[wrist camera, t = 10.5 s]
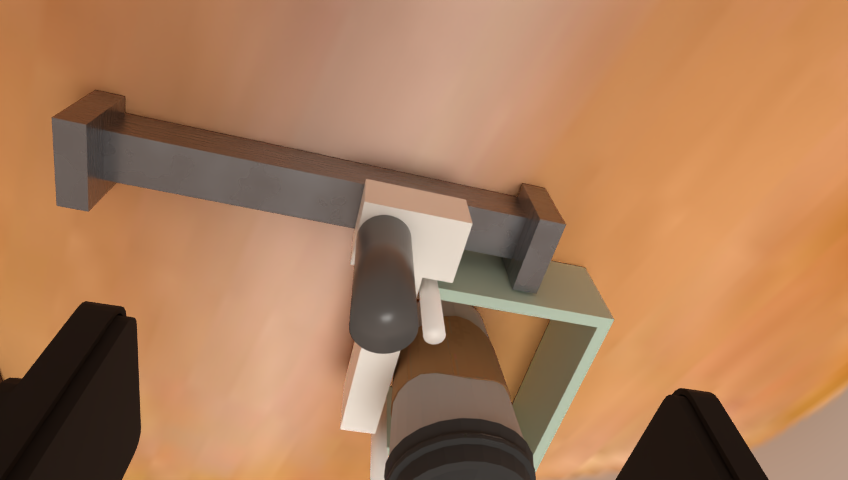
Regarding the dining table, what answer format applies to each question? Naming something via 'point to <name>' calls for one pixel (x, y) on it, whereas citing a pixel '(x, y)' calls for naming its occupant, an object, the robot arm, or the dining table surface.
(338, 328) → the dining table surface
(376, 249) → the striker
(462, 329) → the coffee cup
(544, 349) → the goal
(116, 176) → the rail
